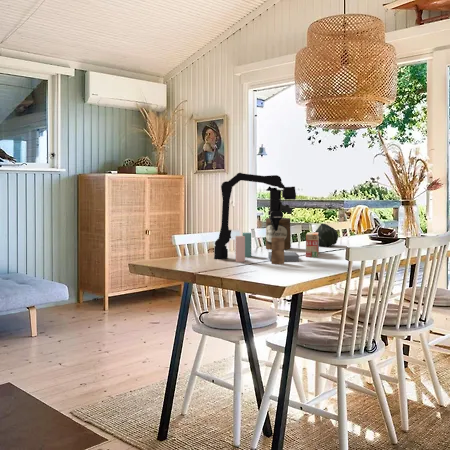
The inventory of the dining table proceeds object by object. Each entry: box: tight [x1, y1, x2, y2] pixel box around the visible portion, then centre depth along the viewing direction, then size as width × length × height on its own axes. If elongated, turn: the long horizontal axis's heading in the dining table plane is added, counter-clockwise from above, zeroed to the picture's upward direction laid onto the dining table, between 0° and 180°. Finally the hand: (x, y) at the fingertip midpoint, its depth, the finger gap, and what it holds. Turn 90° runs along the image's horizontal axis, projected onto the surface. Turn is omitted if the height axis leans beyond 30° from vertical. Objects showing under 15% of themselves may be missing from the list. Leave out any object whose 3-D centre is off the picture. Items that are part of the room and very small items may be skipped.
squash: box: [315, 222, 339, 247], centre depth 341 cm, size 14×15×15 cm
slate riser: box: [267, 251, 300, 262], centre depth 278 cm, size 14×14×3 cm
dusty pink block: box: [235, 235, 246, 263], centre depth 271 cm, size 4×4×12 cm
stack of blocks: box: [305, 231, 320, 258], centre depth 298 cm, size 21×6×12 cm, turn 169°
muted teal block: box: [242, 232, 252, 258], centre depth 291 cm, size 4×4×12 cm
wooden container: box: [265, 217, 292, 251], centre depth 327 cm, size 15×15×22 cm
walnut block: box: [271, 237, 285, 265], centre depth 264 cm, size 4×4×12 cm
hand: (275, 230), depth 282 cm, fingers open, 9 cm apart
